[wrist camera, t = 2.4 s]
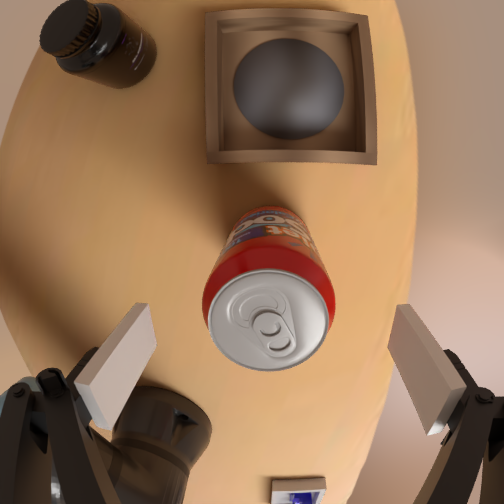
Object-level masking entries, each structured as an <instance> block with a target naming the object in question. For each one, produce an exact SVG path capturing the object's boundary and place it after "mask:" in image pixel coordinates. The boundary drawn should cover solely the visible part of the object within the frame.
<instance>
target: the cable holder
mask: <svg viewBox="0 0 504 504" xmlns="http://www.w3.org/2000/svg"><path fill="white" fill-rule="evenodd" d="M289 501H292V504H312V493H311V492H305V493H291V494H290V495H289Z"/></svg>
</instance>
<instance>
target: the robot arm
mask: <svg viewBox="0 0 504 504" xmlns="http://www.w3.org/2000/svg"><path fill="white" fill-rule="evenodd" d="M156 346H157V342H156V338H155V333H154V329H153V324H152V319H151V314H150V309H149V304H147V303H135V305H134V306H133V307H132V308H131V309H130V311H129V312H128V313H127V314H126V315H125V317H124V318H123V319H122V320H121V322H120V323H119V324H118V325H117V327H116V328H115V329H114V330H113V332H112V333H111V334H110V335H109V337H108V338H107V339H106V340H105V342H104V343H103V344H102V345H101V347H100V348H98V347H94V348H92V349H91V350H89V351H88V352H86V354H85V355H84V356H83V357H82V359H81V360H80V361H79V362H78V364H77V366H75V367H74V369H73V370H72V371H71V372H70V374H69V375H68V376H67V378H66V379H65V378H64V376H63V374H62V372H61V370H59V369H58V368H47V369H45V370H43V371H41V372H40V373H39V374H38V375H37V376H36V378H35V377H24V378H22V379H21V380H19V381H18V382H17V383H15V384H14V385H12V386H11V387H10V388H9V389H8V390H7V391H5V392H4V393H3V394H2V395H0V504H183V499H184V495H185V491H186V486H187V482H188V477H189V474H190V470H191V469H192V467H193V466H194V465H195V463H196V462H197V460H198V459H199V458H200V456H201V455H202V454H203V452H204V451H205V449H206V448H207V446H208V444H209V442H210V437H211V433H212V426H211V423H210V421H209V419H208V417H207V416H206V414H205V413H204V412H203V411H202V410H201V409H200V408H199V407H198V406H196V405H195V404H194V403H192V402H191V401H189V400H188V399H186V398H184V397H182V396H180V395H178V394H176V393H173V392H170V391H168V390H164V389H160V388H156V387H147V386H140V387H135V385H136V383H137V381H138V379H139V377H140V375H141V374H142V372H143V370H144V368H145V366H146V365H147V363H148V361H149V359H150V357H151V355H152V354H153V352H154V350H155V348H156ZM388 349H389V351H390V353H391V355H392V358H393V360H394V362H395V364H396V366H397V368H398V370H399V372H400V375H401V377H402V379H403V381H404V383H405V386H406V388H407V390H408V392H409V394H410V397H411V399H412V401H413V404H414V406H415V408H416V411H417V413H418V415H419V417H420V420H421V422H422V425H423V427H424V430H425V432H426V435H431V434H435V433H439V432H442V430H443V429H444V427H445V425H446V424H448V426H449V428H450V430H449V432H448V433H447V435H446V436H445V438H444V439H443V441H442V442H441V445H442V447H441V449H440V452H439V454H438V456H437V459H436V460H435V463H434V465H433V467H432V469H431V471H430V473H429V475H428V477H427V479H426V481H425V483H424V485H423V487H422V488H421V490H420V492H419V494H418V496H417V497H416V499H415V501H414V503H413V504H467V502H468V499H469V497H470V494H471V492H472V489H473V486H474V483H475V481H476V478H477V475H478V472H479V469H480V465H481V463H482V459H483V472H482V484H481V494H480V502H479V504H504V397H495V395H494V394H493V393H492V392H491V391H490V390H488V389H486V388H483V387H478V386H477V384H476V383H475V381H474V380H473V378H472V377H471V375H470V374H469V372H468V371H467V369H465V366H464V365H463V364H462V363H461V361H460V359H459V358H458V356H457V355H456V354H455V353H453V352H452V351H450V350H449V349H447V350H442V348H441V347H440V345H439V344H438V343H437V341H436V340H435V338H434V337H433V335H432V334H431V333H430V331H429V330H428V329H427V327H426V326H425V324H424V323H423V321H422V320H421V319H420V317H419V316H418V315H417V313H416V312H415V311H414V309H413V308H412V307H411V305H410V304H402V305H397V307H396V312H395V317H394V321H393V326H392V330H391V334H390V339H389V343H388ZM91 419H93V421H94V423H95V424H96V426H97V427H100V428H103V429H107V430H112V428H113V430H112V440H111V442H109V441H108V440H106V439H105V438H104V437H102V436H101V435H100V434H99V433H98V432H96V431H95V430H94V429H93V428H92V427H90V426H89V423H90V421H91Z"/></svg>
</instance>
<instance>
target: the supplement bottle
mask: <svg viewBox="0 0 504 504" xmlns="http://www.w3.org/2000/svg"><path fill="white" fill-rule="evenodd" d="M40 45H41V48H42V49H43V50H44V51H45V52H47V53H49V54H51V55H53V56H55V57H56V60H57V63H58V65H59V66H60V67H61V69H62V70H64V71H65V72H67V73H69V74H72V75H75V76H78V77H82V78H85V79H88V80H91V81H94V82H97V83H99V84H102V85H105V86H108V87H111V88H116V89H123V88H128V87H131V86H133V85H135V84H137V83H139V82H140V81H141V80H143V79H144V78H145V77H146V76H147V75H148V73H149V72H150V71H151V69H152V67H153V65H154V63H155V60H156V55H157V49H156V44H155V42H154V40H153V39H152V37H151V36H150V35H149V34H148V33H147V32H145V31H144V30H143V29H142V28H141V27H140V26H139V25H137V24H136V23H135V22H134V21H133V20H132V19H131V18H129V17H128V16H127V15H126V14H125V13H123V12H122V11H121V10H120V9H119V8H117V7H115V6H114V5H111V4H107V3H98V4H91V3H89V2H88V1H86V0H69V1H66V2H64V3H62V4H61V5H60V6H58V7H57V8H56V9H55V10H54V11H53V12H52V13H51V14H50V16H49V17H48V19H47V20H46V21H45V24H44V25H43V28H42V30H41V34H40Z"/></svg>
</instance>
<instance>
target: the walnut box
mask: <svg viewBox="0 0 504 504" xmlns="http://www.w3.org/2000/svg"><path fill="white" fill-rule="evenodd" d="M205 112H206V148H207V164H218V163H246V162H318V163H345V164H364V165H377V114H376V92H375V77H374V65H373V54H372V45H371V36H370V29H369V22H368V16H367V15H360V14H354V13H346V12H337V11H327V10H315V9H295V8H257V9H238V10H225V11H215V12H206V13H205Z"/></svg>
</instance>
